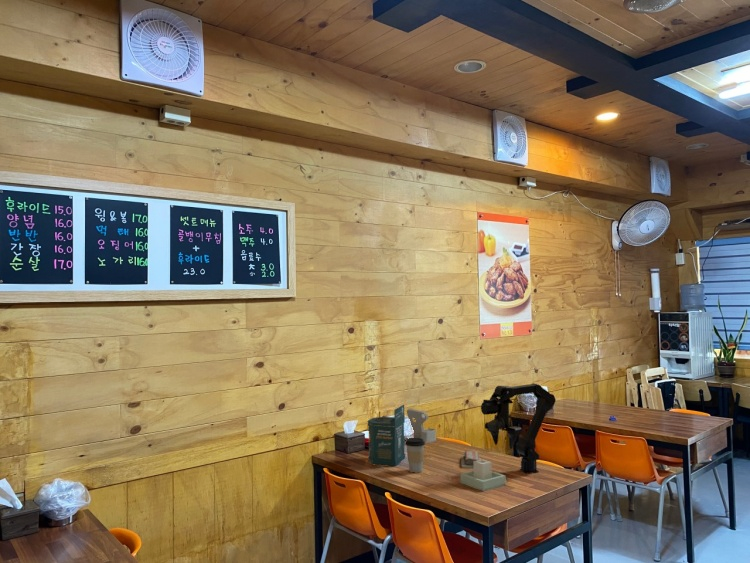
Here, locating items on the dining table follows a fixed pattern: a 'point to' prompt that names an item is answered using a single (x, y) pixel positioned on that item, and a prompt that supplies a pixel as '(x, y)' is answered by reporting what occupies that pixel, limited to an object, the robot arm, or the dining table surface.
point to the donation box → (387, 439)
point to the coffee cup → (415, 454)
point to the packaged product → (469, 459)
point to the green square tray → (483, 481)
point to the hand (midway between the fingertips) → (503, 446)
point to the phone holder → (420, 425)
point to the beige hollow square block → (482, 469)
